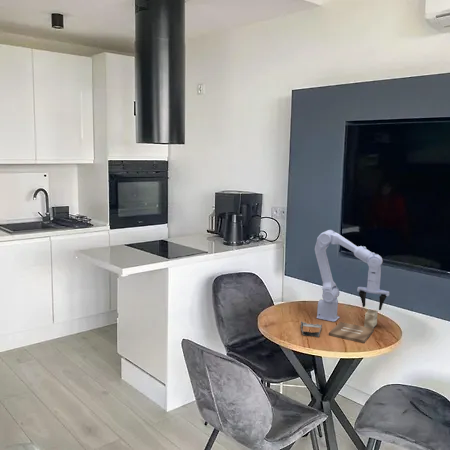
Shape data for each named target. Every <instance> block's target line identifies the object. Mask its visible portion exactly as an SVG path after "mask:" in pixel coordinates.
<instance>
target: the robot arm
mask: <svg viewBox="0 0 450 450" xmlns="http://www.w3.org/2000/svg"><path fill="white" fill-rule="evenodd" d="M330 245H340V246H341V247H343V248H345V249H347V250H349V251H351V252H352V253H353V255H354V257H356V258H357V259H359V260H360V261H362V262H363V263H365V264H367V266H368V270H367V285H366V286H365V287H364V286H358V287H357V289H356V291H357V292H358V295H359V297H360V301H361V305H362V308H365V307H366V297H367V294H368V293H369V294H374V295H378V296H379V295H380V296H379V305H378V311H381V310H382V308H383V305H384V302H385V300H386V299H387V297H389V296H390V291H388V290H384V289H381V288H380V287H381V275H382V271H381V270H382V266H381V265H382V264H383V262H384V261H383V258H382V256H381V255H379V254H378V253H375V252H372V251H370V250H369V249H367V247H366V246H364V245H363V246H362V245H360V246H359V245H358V246H357V245H356V244H354V243H353V242H352V241H350V240H349V239H347V238H345V237H344V236H342V235H341V234H339V233H338V232H335V231H334V230H333V229H327V230H325V231H323V232H321V233H320V234H319V235H318V236H317V238H316V243H315V246H314V253H315V257H316V261H317V265H318V269H319V273H320V277H321V280H322V287H321V288H322V299H321V298H320V299H319V300H318V301H317V312H316V319H319V320H322V321H323V320H324V321H329V322H334V323H335V322H337V320H339V319H340V316H339V315H338V306H339V305H338V304H339V300H338V297H339V296H340V294H341V293H340V289H339V288H338V286H337V284H336V282H335V281H334V279H333V275H332V271H331V266H330V262H329V258H328V255H327V254H328V253H327V248H329V246H330Z"/></svg>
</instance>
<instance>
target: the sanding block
mask: <svg viewBox="0 0 450 450" xmlns="http://www.w3.org/2000/svg"><path fill="white" fill-rule="evenodd" d="M378 311H379V310H377V309H376V310H375V309H368V310H367V311H366V312H365V313H364V324H363V327H368V328H372V329H374V330H375V327H376V326H377V325H378Z"/></svg>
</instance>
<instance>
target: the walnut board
mask: <svg viewBox="0 0 450 450" xmlns="http://www.w3.org/2000/svg"><path fill="white" fill-rule="evenodd" d="M374 332H375V328H374V329H372V328H368V327H364V325H356V324H353V323H347V322H342V321H339V323H338V324H336V326H334V327H333V328H332V329H331V330H330V331H329V332H328V336H331V337H334V338H339V339H344V340H348V341H352V342H356V343H362V344H365V343H366V341H367V340H368V339H369V338H370V337H371V336H372V334H373V333H374Z"/></svg>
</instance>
